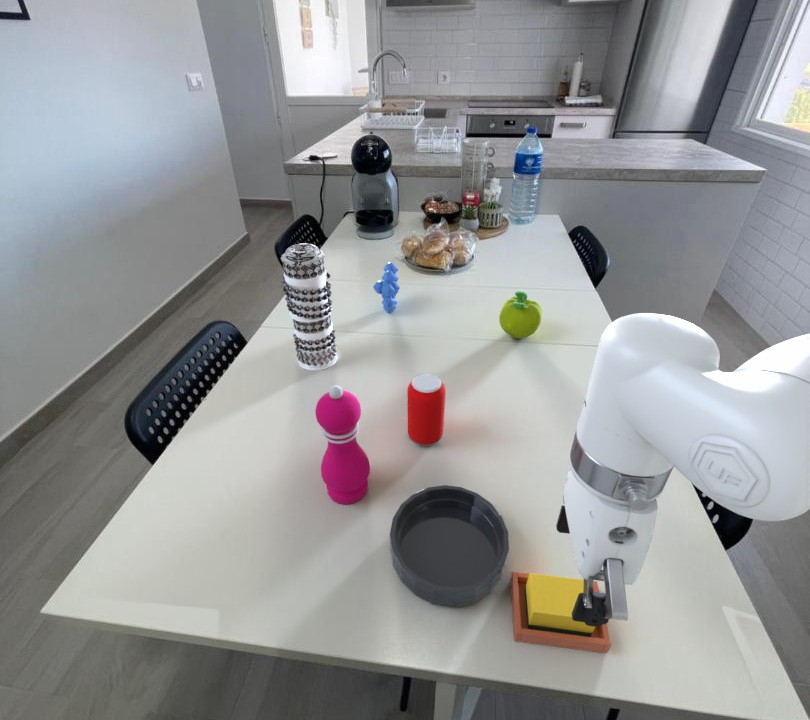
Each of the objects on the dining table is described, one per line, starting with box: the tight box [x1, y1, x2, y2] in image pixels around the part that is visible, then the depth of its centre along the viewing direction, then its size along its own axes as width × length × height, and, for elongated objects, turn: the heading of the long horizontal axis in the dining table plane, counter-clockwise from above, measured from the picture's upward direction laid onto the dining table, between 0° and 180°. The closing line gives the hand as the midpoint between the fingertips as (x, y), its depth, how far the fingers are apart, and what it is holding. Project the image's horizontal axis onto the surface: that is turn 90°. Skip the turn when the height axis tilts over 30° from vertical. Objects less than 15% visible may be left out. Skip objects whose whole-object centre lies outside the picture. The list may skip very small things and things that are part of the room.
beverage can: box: [406, 373, 447, 447], centre depth 74 cm, size 6×6×12 cm
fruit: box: [498, 290, 543, 340], centre depth 101 cm, size 9×9×10 cm
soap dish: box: [509, 571, 612, 654], centre depth 53 cm, size 10×7×2 cm
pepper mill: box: [315, 384, 371, 505], centre depth 63 cm, size 7×7×20 cm
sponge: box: [525, 572, 595, 637], centre depth 52 cm, size 7×4×4 cm, turn 82°
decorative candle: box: [280, 242, 338, 372], centre depth 89 cm, size 9×9×25 cm
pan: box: [389, 484, 510, 608], centre depth 59 cm, size 15×15×4 cm
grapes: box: [372, 261, 401, 315], centre depth 111 cm, size 12×7×12 cm, turn 175°
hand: (578, 571), depth 47 cm, fingers open, 9 cm apart
